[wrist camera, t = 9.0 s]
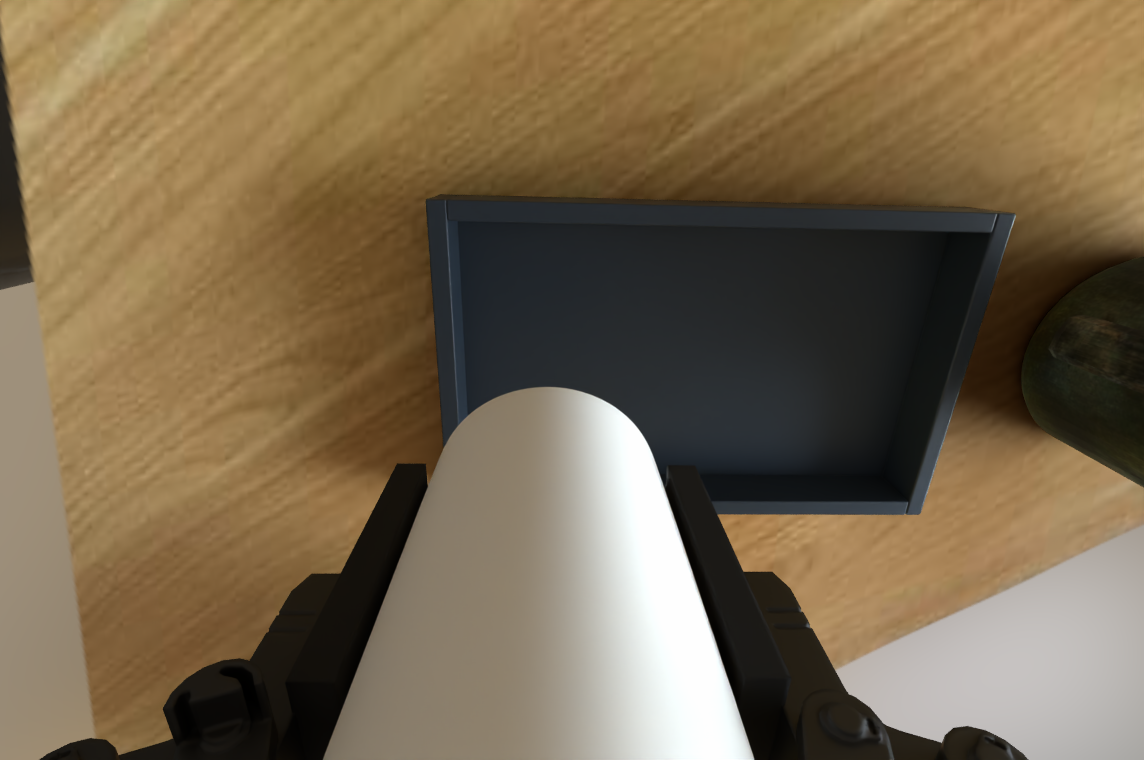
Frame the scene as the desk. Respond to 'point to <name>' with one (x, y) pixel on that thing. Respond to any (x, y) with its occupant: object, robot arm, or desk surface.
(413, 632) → the can
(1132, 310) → the mug
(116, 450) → the desk surface
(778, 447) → the tray
